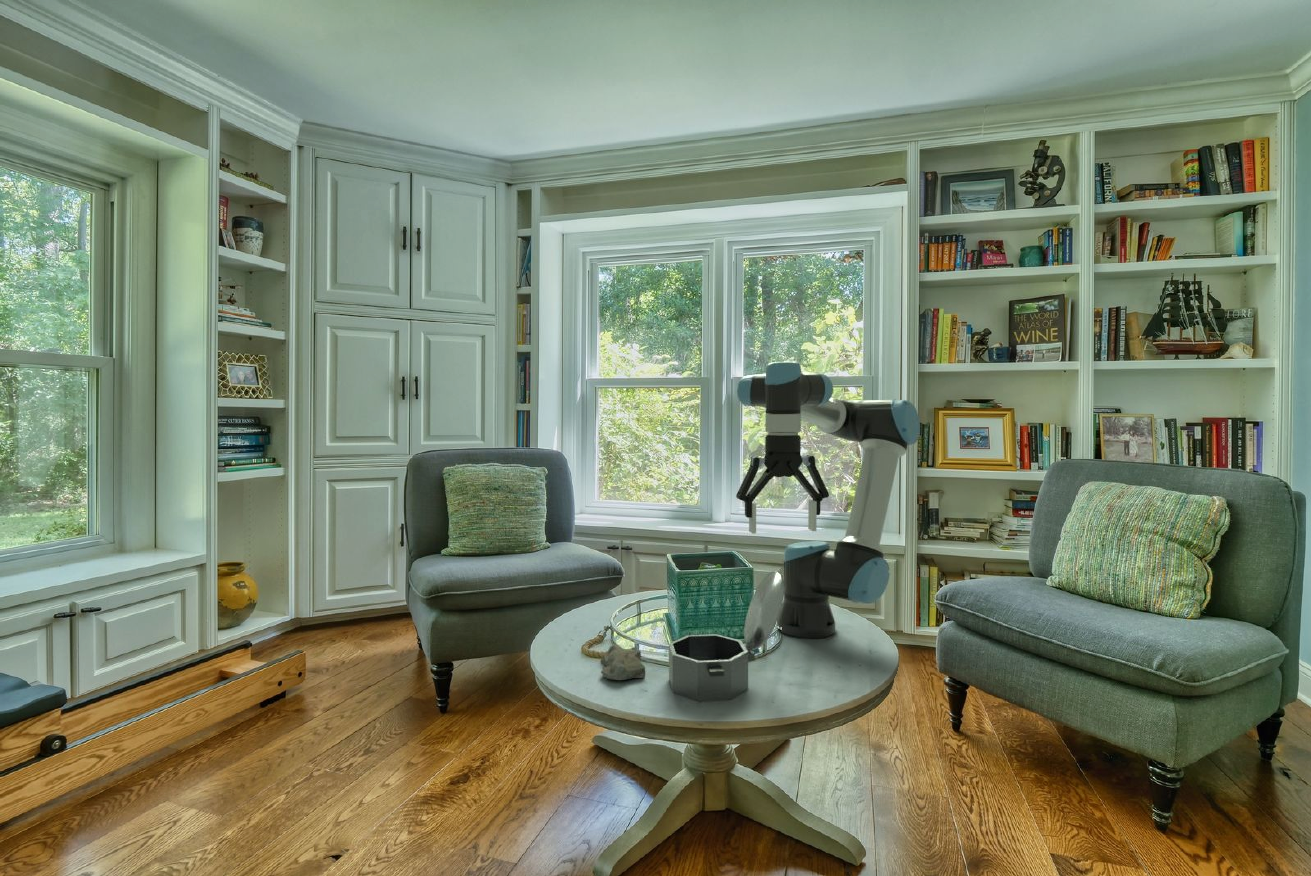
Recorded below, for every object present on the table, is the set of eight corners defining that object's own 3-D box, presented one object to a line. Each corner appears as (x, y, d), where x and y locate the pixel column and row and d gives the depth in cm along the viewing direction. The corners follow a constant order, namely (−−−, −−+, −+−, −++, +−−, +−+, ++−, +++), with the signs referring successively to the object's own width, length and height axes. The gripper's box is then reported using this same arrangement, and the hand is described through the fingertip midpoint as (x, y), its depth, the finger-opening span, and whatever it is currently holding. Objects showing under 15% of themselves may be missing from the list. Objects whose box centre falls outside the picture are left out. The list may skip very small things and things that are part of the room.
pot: (741, 663, 156) (741, 629, 156) (764, 703, 135) (764, 664, 135) (665, 666, 155) (665, 632, 154) (677, 707, 134) (676, 668, 133)
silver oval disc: (737, 632, 154) (745, 635, 154) (756, 660, 137) (765, 664, 137) (766, 563, 154) (774, 566, 154) (788, 583, 137) (797, 586, 137)
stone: (599, 660, 160) (599, 643, 160) (640, 658, 161) (640, 641, 161) (601, 686, 145) (601, 667, 145) (646, 683, 146) (646, 665, 146)
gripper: (830, 432, 152) (829, 526, 153) (722, 433, 148) (722, 530, 149) (844, 433, 144) (844, 532, 146) (731, 435, 141) (731, 536, 142)
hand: (782, 531), depth 147 cm, fingers open, 13 cm apart
